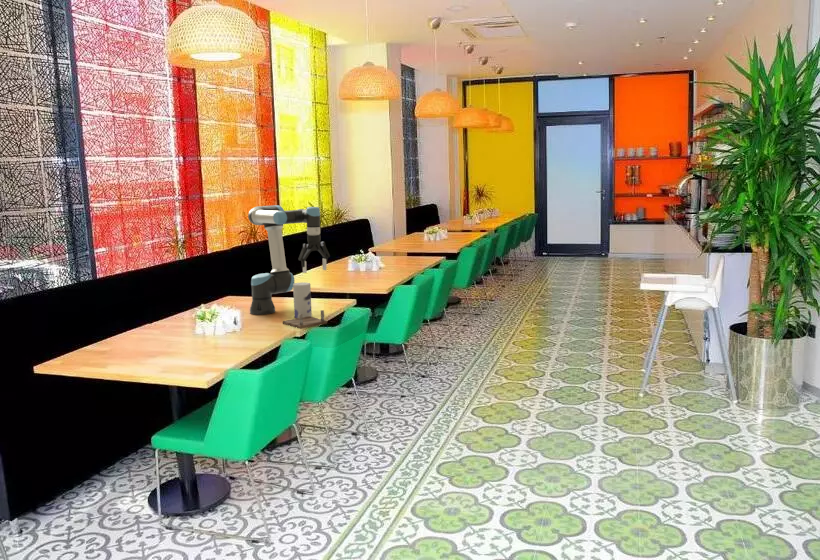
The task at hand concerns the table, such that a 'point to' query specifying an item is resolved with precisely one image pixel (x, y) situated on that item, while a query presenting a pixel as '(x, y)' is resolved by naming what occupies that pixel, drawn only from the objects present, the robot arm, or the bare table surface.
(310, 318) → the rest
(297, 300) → the container
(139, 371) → the table surface
